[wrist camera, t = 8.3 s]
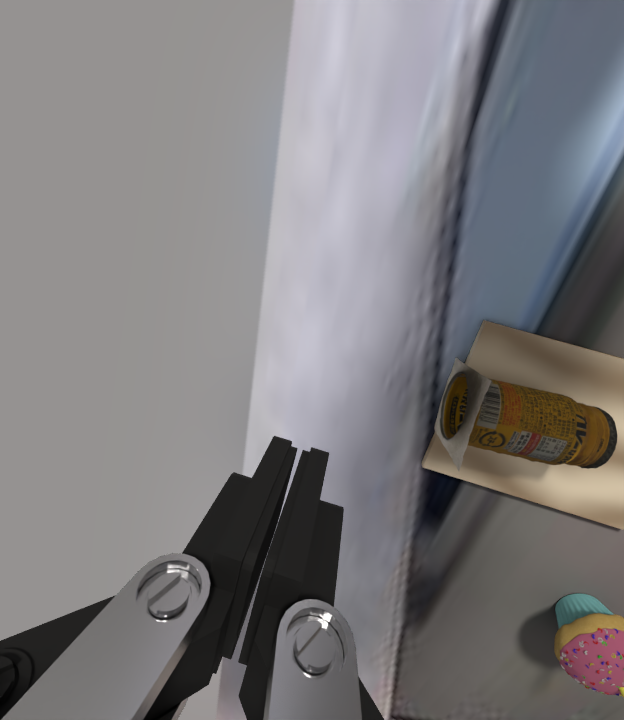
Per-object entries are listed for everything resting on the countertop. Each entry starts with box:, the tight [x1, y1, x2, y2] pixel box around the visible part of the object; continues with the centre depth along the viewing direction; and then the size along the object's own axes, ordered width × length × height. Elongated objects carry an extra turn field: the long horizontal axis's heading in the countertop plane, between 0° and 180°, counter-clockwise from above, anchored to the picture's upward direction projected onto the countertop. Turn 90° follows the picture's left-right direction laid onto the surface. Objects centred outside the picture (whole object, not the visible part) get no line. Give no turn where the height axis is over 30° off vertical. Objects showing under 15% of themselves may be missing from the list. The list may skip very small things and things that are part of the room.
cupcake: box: [554, 593, 624, 697], centre depth 32 cm, size 9×8×12 cm
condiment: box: [434, 358, 618, 471], centre depth 28 cm, size 7×8×12 cm
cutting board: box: [422, 320, 624, 530], centre depth 32 cm, size 16×21×1 cm
